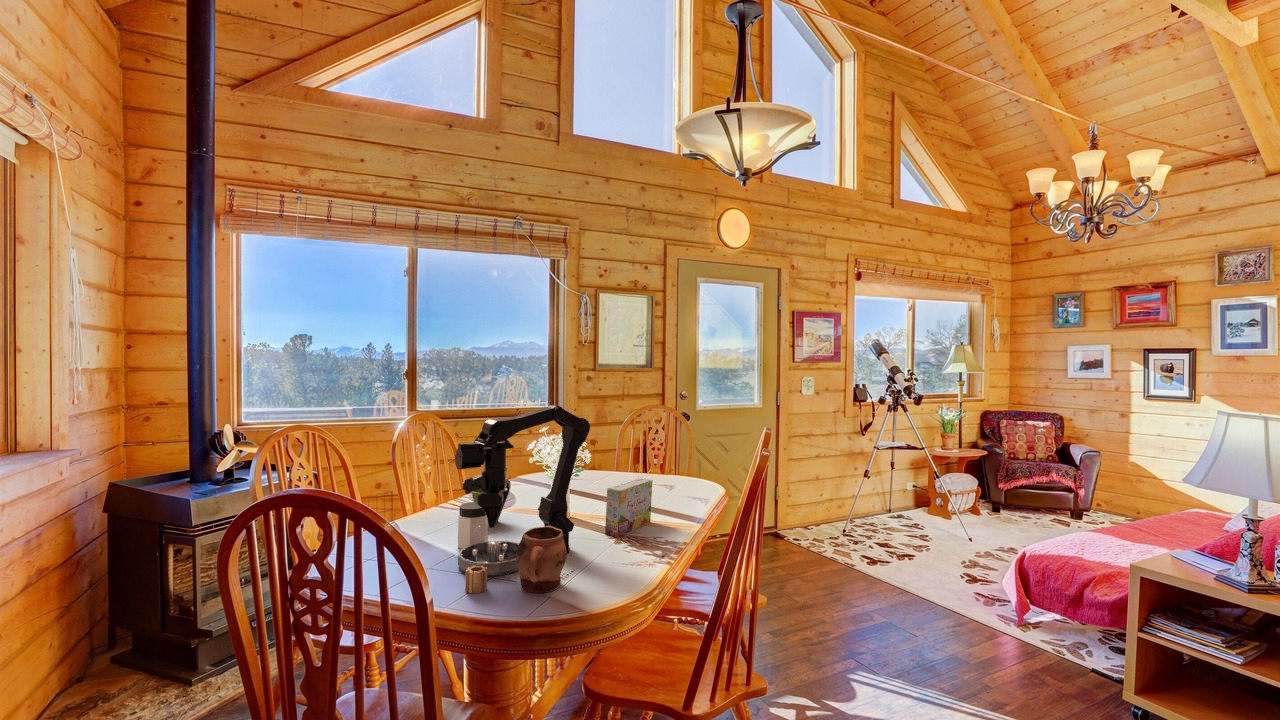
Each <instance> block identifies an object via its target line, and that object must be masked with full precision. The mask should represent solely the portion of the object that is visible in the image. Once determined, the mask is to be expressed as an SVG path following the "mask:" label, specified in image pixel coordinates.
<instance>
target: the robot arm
mask: <svg viewBox="0 0 1280 720" xmlns="http://www.w3.org/2000/svg"><path fill="white" fill-rule="evenodd" d="M553 421H554V422H555V423H556V424H557V425H558V426H560V427H562V428H561V441H562V447H561V451H560V454H559V459H558V462H557V466H556V470H555V474H554V476H553V481H552V485H551V488H550V492H549V493H548V494H547V496H541V497H540V503H539V507H538V508H537V511H538V517H539V519H540V520H541V522H543V524H544V527H545V526H552V527H555V528H557V529H560V530H562V532H563V540H564V543H565V546H566V550H567V554H569V553H570V532H573V531H574V530H573V529H574V526H575V523H574V522H573V521H572V520H570V519H569V517H568V501H567V494H568V491H569V488H570V483H571V479H572V476H573V472H574V468H575V465H576V461H577V458H578V453H579V449H580V448H581V447H582V446H583V444H584V443H585V442H586V441H587V438H588V435H589V433H590V431H591V424H590V423H589V420H588V419H586V418H585V417H580V416H576V415H575V414H573V413H571V412H569V411H567V410H566V409H565V408H564V407H562V406H560V405H556V404H550V405H548V406H547V407H543V408H540V409H537V410H533V411H529V412H526V413H522V414H520V415H516V416H511V417H497V418H489V419H487V420H486V421H484V423H483V425H482V427H481V431H480V432H479V434H478V435H477V437H476V438H475V440H474V441H473V442H470V443H469V442H468V443H466V442H465V443H464V442H461V443H458V444H457V449H456V451H455V454H454V463H455V466H456V467H455V468H457V470H459V471H460V470H469V469H476V468H477V469H478V468H479V469H480V468H481V467H482V466H484V467H483V471H482V472H481V474H478V475H475V476H473V477H471V476H470V477H469V478H465V479H464V480H463V482H461V484H462V485H461V486H462V488H461V489H462V490H463V491H464V493H465V495H470V494H471V493H472V491H475V490H478V489H480V488H481V491H483V492H482V493H481V494H480V495H479V496H478V497H477V504H478V505H479V506H480V507H482V508H483V509H484V510H485V512H486V515H487V519H488V523H489V525H488V528H490V529H494V528H495V526H496V524H497V523H496V521H497V518H499V519H500V516H501V514H502V511H503V509H504V506H505V504H506V502H507V499H508V496H509V493H510V490H511V480H509V479H508V478H507V472H508V467H507V450H509V449H514V448H515V447H514V445H513V444H512V443H511V442H510V441H509V439H511V438H512V437H514V436H515V435H516V434H517V433H519V432H521V431H524V430H528V429H530V428H533V427H536V426H537V427H538V426H540V425H544V424H547V423H550V422H553ZM505 488H506V490H505ZM486 490H487V491H486Z"/></svg>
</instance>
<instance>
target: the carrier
mask: <svg viewBox="0 0 1280 720" xmlns="http://www.w3.org/2000/svg"><path fill="white" fill-rule="evenodd" d="M519 544H520V542H516V541H509V540H488V541H487V542H482V543H476V544H472V545H470V546H467V547H465V548H463V549H461V548H460V551H459V553H458V554H457V565H458V569H459V571H460V572H462V573H463V574H465V575H466V569H467V568H468V567H472V566H480V565H481V566H483V567H487V578H497V577H504V576H509V575H513V574H516V573H519V569H518V566H517V563H516V552H517V548H518V546H519Z"/></svg>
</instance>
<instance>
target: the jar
mask: <svg viewBox="0 0 1280 720" xmlns="http://www.w3.org/2000/svg"><path fill="white" fill-rule="evenodd" d="M457 521H458V524H457V527H458V528H457V549H460V550H461V549H463V548H465V547H467V546H470V545H472V544H476V543H482V542H487V541H489V525H488V519H487V515H486V512H485V510H484V509H483V508H482V507H480V506H479V505H478V504H477V502H474V501H473V502H472V501H471V502H465V503H462V504H460V505H459V515H458V519H457Z"/></svg>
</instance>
